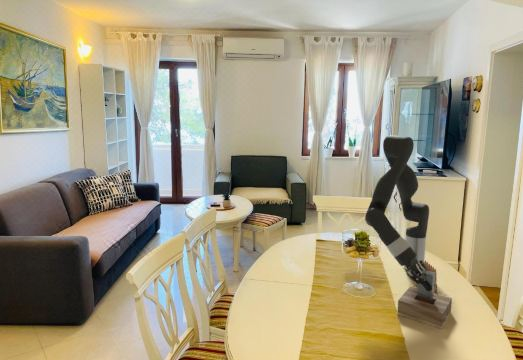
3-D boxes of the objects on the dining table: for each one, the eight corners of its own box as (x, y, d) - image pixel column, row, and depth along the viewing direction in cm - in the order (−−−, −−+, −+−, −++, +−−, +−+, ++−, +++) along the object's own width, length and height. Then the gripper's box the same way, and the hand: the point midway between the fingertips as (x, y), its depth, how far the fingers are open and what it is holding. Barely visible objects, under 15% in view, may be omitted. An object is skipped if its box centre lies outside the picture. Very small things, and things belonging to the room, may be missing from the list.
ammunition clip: (436, 296, 162) (438, 269, 159) (432, 296, 162) (434, 269, 159) (424, 284, 172) (426, 259, 170) (420, 284, 172) (422, 259, 170)
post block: (408, 300, 158) (409, 286, 157) (450, 312, 149) (452, 298, 148) (397, 314, 148) (398, 300, 147) (441, 328, 138) (443, 313, 137)
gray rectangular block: (419, 293, 149) (421, 269, 148) (433, 297, 146) (435, 272, 145) (417, 296, 147) (419, 271, 145) (431, 300, 144) (433, 275, 142)
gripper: (402, 251, 142) (435, 291, 137) (414, 241, 153) (444, 277, 148) (387, 261, 147) (418, 300, 141) (400, 250, 157) (429, 286, 152)
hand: (431, 288), depth 145 cm, fingers closed on gray rectangular block, 3 cm apart
